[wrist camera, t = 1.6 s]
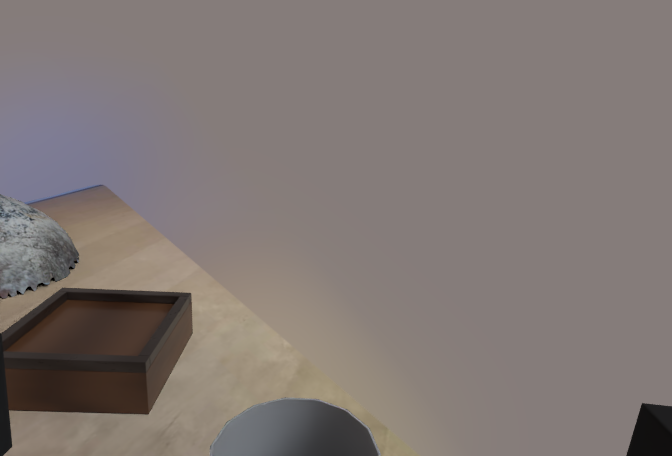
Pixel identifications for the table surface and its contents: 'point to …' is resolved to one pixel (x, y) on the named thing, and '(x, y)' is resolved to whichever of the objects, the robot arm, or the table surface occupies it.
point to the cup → (295, 431)
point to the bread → (31, 248)
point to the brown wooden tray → (96, 350)
